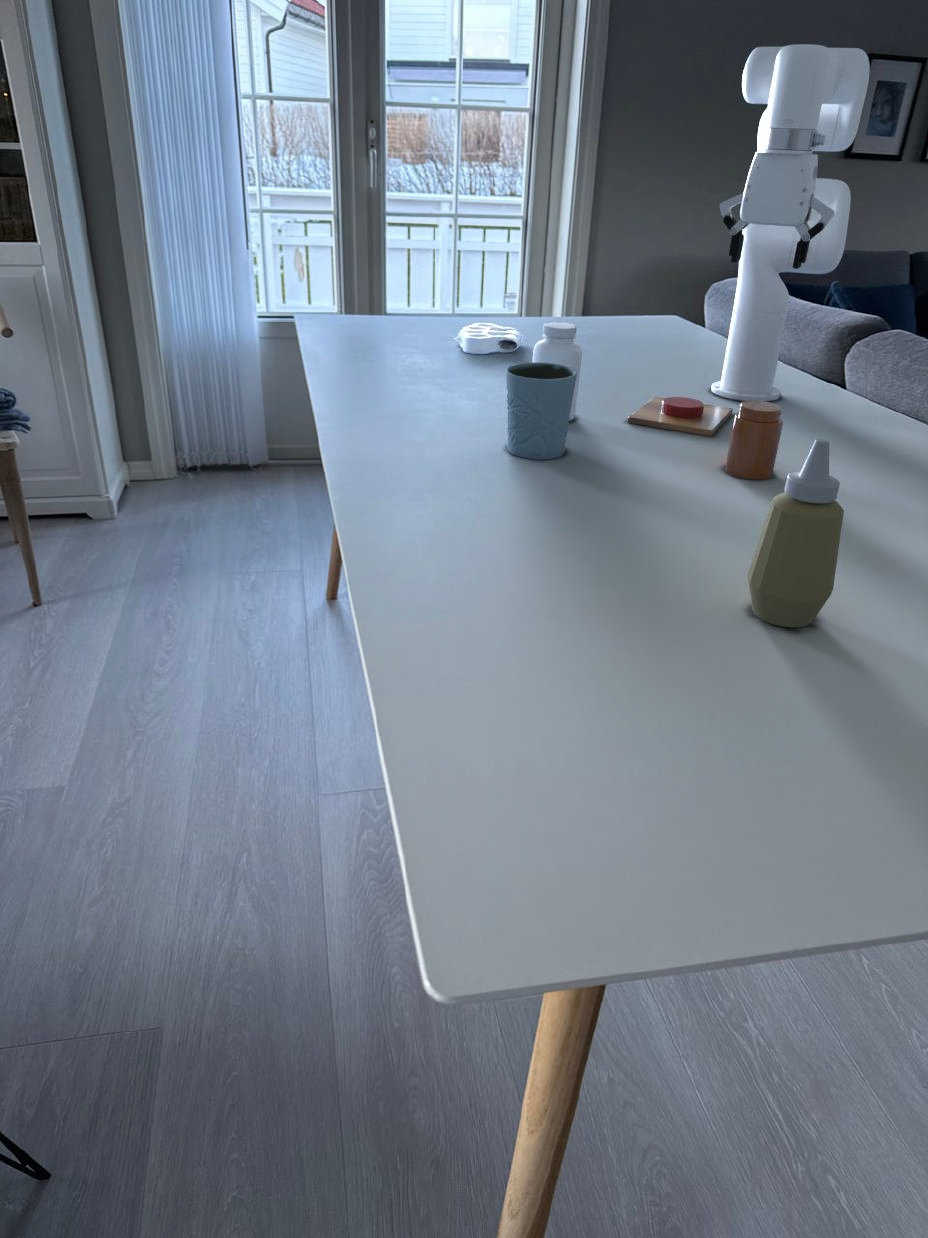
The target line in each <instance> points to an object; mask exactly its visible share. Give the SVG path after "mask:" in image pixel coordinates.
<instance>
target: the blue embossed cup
mask: <svg viewBox="0 0 928 1238" xmlns="http://www.w3.org/2000/svg"><path fill="white" fill-rule="evenodd" d="M576 377H577V372H576V371H575V370H574V369H572V368H570V367H567V366H563V365H558V364H552V363H532V362H522V363H521V362H520V363H516V364H512V365H510V366H508V367H506V369H505V383H506V384H505V385H506V390H507V393H506V404H507V407H506V409H507V428H506V429H507V449H508V450H507V451H509V453H510V454H512V455H513V456H515V457H519V458H524V459H529V460H552V459H553V460H554V459H557V458H560V457H562V456H563V455H564V454H565V451H566V445H567V439H566V438H567V436H568V430H569V426H570V424H569V422H570V421H569V419H570V418H569V416H570V413H571V406H572V399H573V394H574V388H575V382H576Z"/></svg>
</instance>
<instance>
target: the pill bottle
mask: <svg viewBox="0 0 928 1238" xmlns="http://www.w3.org/2000/svg"><path fill="white" fill-rule="evenodd" d="M577 328H578V327H577V326H576V325H575V324H573V323H568V322H560V321H559V322H557V321H554V322H546V323H544V324H543V328H542V337H543V339H541V340H539V341H537V342H536V343H535V345H534V347H533V351H532V362H531V363H552V364H558V365H563V366H567V367H570V368H572V369H574V370H575V371H576V372H577V377H576V382H575V388H574V394H573V399H572V406H571V413H570V416H569V418H570V419H569V422H570V421H573V420H574V418H575V417H576V412H577V403H578V393H579V383H580V376H581V375H580V374H581V367H582V357H583V352H582V347H581V345H579V344H578V343H577V342H575V340H576V336H577Z"/></svg>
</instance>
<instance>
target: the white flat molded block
mask: <svg viewBox="0 0 928 1238" xmlns="http://www.w3.org/2000/svg"><path fill="white" fill-rule="evenodd" d="M457 335H458V336H457V337H454V338H453V340H455V341H456V342H457V343H459V346H460V348H461V349H462V351H463V352H464V353H465V354H466V353H467V354H472V355H485V354H491V353H512V352H514V351H516V350H518V349H519V346H520V344H521V342H522V340H523V339H524V333H523V332H522V331H520V330H519V329H517V328H513V327H507V326H499V325H498V324H494V323H487V322H479V323H473V324H471V325H468V326H467V325H466V326H464V327H462V329H461V330H460V332H459V333H457Z"/></svg>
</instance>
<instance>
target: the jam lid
mask: <svg viewBox="0 0 928 1238" xmlns="http://www.w3.org/2000/svg"><path fill="white" fill-rule="evenodd" d="M664 398H665V399H663V402H662V406H661V412H662V413H664V414H666V415H669V416H673V417H678V418H697V417H700V416H702V414H703V409H704V404H705V403H704V402H703V401H701V400H699V399H695V398H691V397H683V396H671V397H664Z"/></svg>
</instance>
